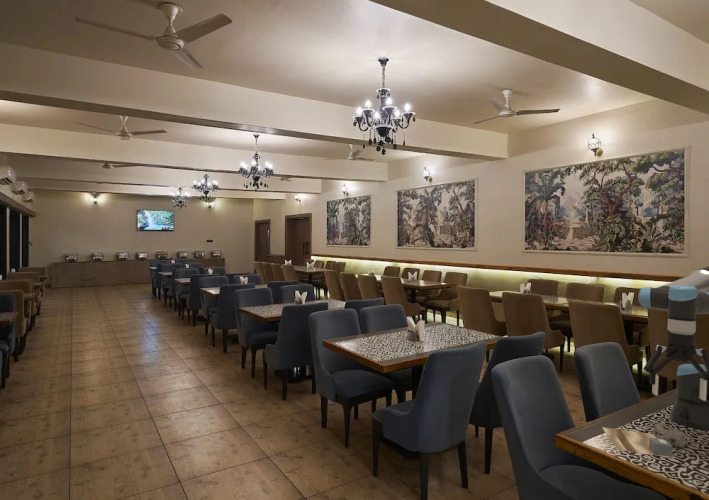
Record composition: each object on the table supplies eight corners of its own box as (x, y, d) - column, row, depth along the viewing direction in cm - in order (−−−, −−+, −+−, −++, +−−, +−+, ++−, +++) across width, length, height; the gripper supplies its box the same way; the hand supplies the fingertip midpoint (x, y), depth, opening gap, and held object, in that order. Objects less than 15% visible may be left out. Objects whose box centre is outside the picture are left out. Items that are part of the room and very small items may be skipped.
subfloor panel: (654, 436, 162) (654, 434, 162) (676, 460, 143) (676, 458, 143) (602, 429, 167) (602, 427, 167) (616, 451, 148) (616, 449, 148)
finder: (666, 450, 149) (666, 439, 149) (672, 457, 144) (672, 445, 144) (649, 448, 150) (649, 436, 150) (654, 454, 145) (654, 442, 145)
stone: (653, 422, 165) (686, 429, 159) (652, 438, 164) (686, 446, 158) (650, 424, 155) (686, 432, 149) (649, 441, 154) (685, 450, 148)
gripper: (719, 334, 147) (717, 398, 147) (634, 327, 154) (632, 388, 154) (732, 338, 140) (729, 405, 140) (642, 331, 147) (639, 395, 147)
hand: (678, 396), depth 147 cm, fingers open, 13 cm apart
